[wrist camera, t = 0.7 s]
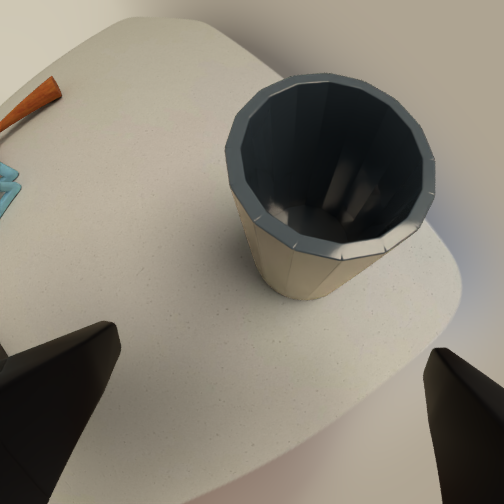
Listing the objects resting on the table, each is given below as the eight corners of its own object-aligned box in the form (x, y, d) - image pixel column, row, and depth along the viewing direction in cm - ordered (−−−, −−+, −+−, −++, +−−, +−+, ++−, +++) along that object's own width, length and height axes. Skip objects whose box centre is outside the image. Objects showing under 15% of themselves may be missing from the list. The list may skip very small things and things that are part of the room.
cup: (316, 320, 21) (374, 307, 8) (234, 261, 22) (181, 175, 10) (370, 239, 22) (459, 141, 9) (291, 186, 23) (300, 49, 11)
